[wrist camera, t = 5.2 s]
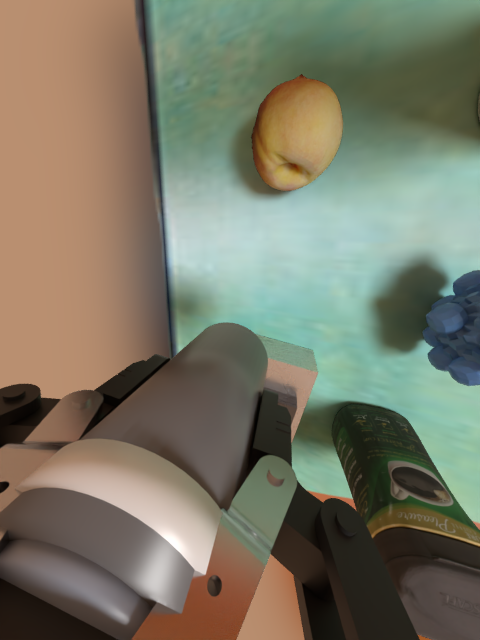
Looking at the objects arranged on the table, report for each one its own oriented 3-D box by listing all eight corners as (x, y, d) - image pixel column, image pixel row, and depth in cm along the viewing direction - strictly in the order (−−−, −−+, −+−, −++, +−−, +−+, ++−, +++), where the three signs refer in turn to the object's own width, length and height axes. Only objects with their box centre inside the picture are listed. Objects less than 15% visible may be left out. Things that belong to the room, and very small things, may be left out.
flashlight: (197, 310, 14) (-88, 482, 3) (280, 333, 13) (244, 643, 3) (185, 381, 16) (-31, 644, 5) (258, 405, 15) (184, 769, 4)
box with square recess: (234, 328, 31) (217, 351, 24) (313, 350, 30) (320, 382, 22) (215, 417, 37) (195, 459, 29) (281, 439, 35) (278, 490, 28)
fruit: (246, 178, 26) (228, 148, 18) (287, 96, 23) (286, 21, 16) (301, 213, 26) (306, 197, 18) (350, 135, 23) (379, 78, 15)
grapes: (416, 249, 24) (523, 246, 13) (487, 258, 23) (672, 264, 12) (381, 346, 28) (441, 409, 17) (441, 358, 27) (549, 433, 16)
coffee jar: (325, 440, 33) (363, 643, 16) (338, 396, 31) (398, 578, 14) (396, 458, 32) (523, 705, 14) (415, 412, 29) (596, 644, 12)
